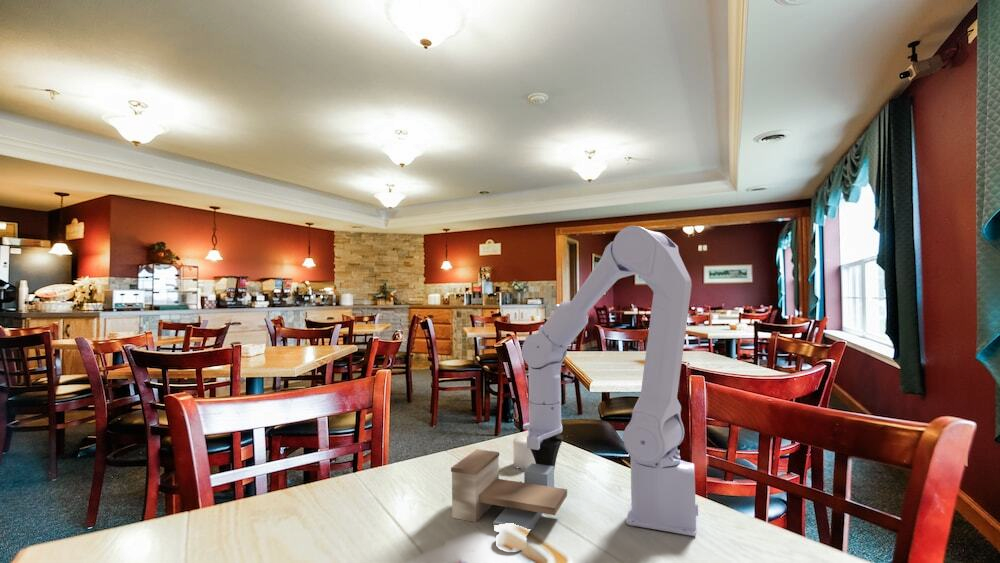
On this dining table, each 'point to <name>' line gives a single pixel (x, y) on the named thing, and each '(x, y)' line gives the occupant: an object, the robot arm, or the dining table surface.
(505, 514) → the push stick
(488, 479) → the plinth shelf
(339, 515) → the dining table surface
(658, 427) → the robot arm
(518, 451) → the white rounded cylinder
